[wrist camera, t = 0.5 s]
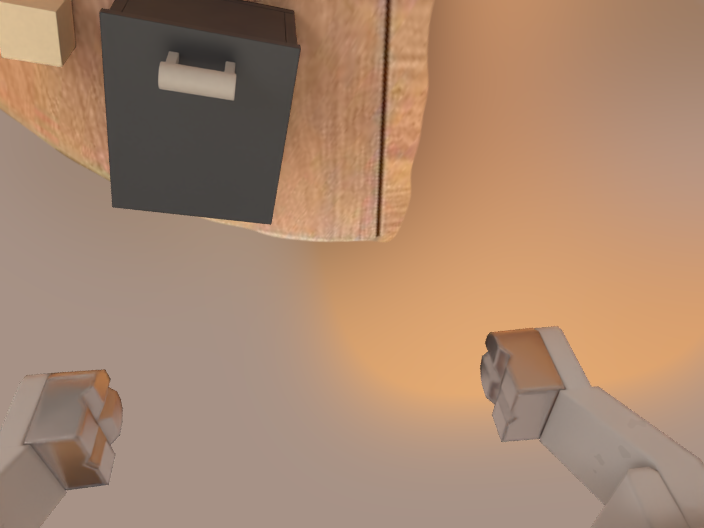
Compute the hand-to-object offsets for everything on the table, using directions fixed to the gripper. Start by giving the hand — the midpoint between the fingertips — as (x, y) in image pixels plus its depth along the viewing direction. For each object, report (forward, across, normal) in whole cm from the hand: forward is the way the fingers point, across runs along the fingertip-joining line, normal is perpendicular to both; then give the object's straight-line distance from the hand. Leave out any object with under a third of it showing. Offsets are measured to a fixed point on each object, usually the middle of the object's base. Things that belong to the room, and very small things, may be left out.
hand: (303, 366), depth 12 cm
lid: (+34, +8, +12) cm, 37 cm away
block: (+44, +20, +6) cm, 49 cm away
